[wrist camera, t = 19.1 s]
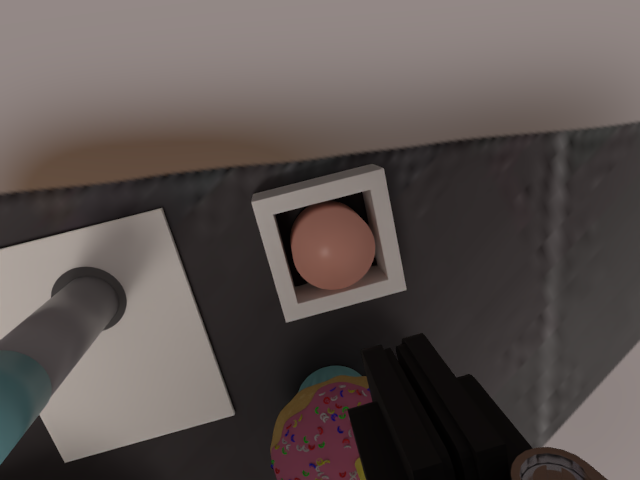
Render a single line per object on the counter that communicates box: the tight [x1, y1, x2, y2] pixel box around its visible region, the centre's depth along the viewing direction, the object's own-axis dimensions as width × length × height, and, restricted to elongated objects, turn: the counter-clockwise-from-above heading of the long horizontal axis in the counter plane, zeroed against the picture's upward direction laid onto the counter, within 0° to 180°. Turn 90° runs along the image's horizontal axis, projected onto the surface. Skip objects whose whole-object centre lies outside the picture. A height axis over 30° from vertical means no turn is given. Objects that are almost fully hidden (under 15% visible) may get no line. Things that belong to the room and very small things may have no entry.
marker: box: [0, 276, 119, 465], centre depth 19 cm, size 3×3×11 cm
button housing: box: [251, 164, 407, 323], centre depth 24 cm, size 7×7×2 cm
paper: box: [0, 208, 235, 463], centre depth 25 cm, size 14×11×1 cm
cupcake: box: [270, 366, 372, 480], centre depth 22 cm, size 9×8×12 cm
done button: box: [290, 201, 375, 290], centre depth 23 cm, size 4×4×2 cm
